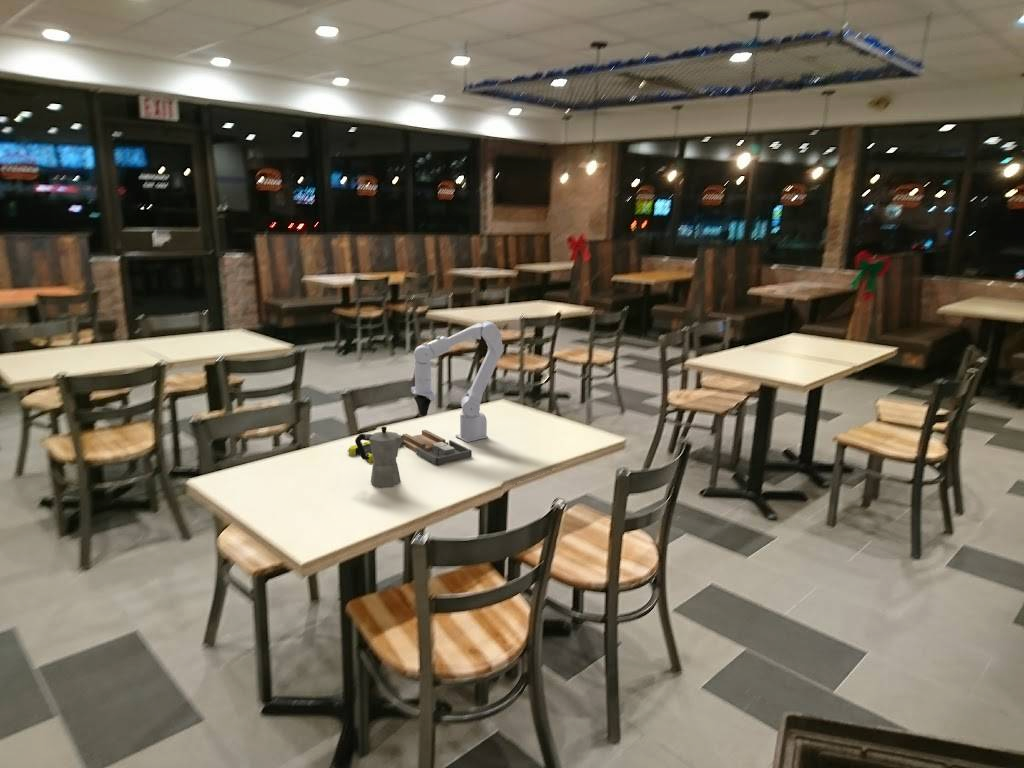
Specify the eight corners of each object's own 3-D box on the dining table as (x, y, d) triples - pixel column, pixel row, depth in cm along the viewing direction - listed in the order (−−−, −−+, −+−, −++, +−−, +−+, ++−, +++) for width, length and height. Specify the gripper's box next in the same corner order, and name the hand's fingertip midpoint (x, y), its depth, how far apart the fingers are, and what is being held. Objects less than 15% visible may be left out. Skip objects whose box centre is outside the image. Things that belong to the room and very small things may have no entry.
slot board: (428, 436, 248) (428, 429, 248) (448, 446, 237) (448, 439, 237) (399, 442, 241) (399, 434, 240) (418, 453, 230) (418, 445, 230)
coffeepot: (409, 476, 210) (408, 422, 205) (404, 488, 201) (403, 431, 196) (360, 476, 210) (358, 421, 205) (353, 488, 200) (351, 431, 196)
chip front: (448, 453, 230) (448, 444, 229) (454, 456, 227) (454, 448, 226) (438, 455, 228) (438, 447, 227) (444, 458, 225) (444, 450, 224)
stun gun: (416, 444, 232) (391, 434, 243) (368, 457, 219) (344, 446, 229) (416, 452, 233) (391, 442, 243) (369, 465, 220) (345, 454, 230)
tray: (450, 446, 238) (450, 440, 238) (471, 457, 228) (471, 450, 227) (416, 454, 230) (416, 447, 229) (436, 465, 220) (436, 458, 219)
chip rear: (441, 449, 233) (441, 441, 233) (447, 452, 230) (447, 444, 230) (431, 452, 231) (431, 443, 230) (437, 455, 228) (437, 446, 227)
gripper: (403, 376, 243) (404, 412, 246) (423, 384, 231) (424, 421, 235) (420, 374, 247) (420, 409, 250) (440, 381, 236) (441, 418, 239)
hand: (423, 415), depth 243 cm, fingers closed
